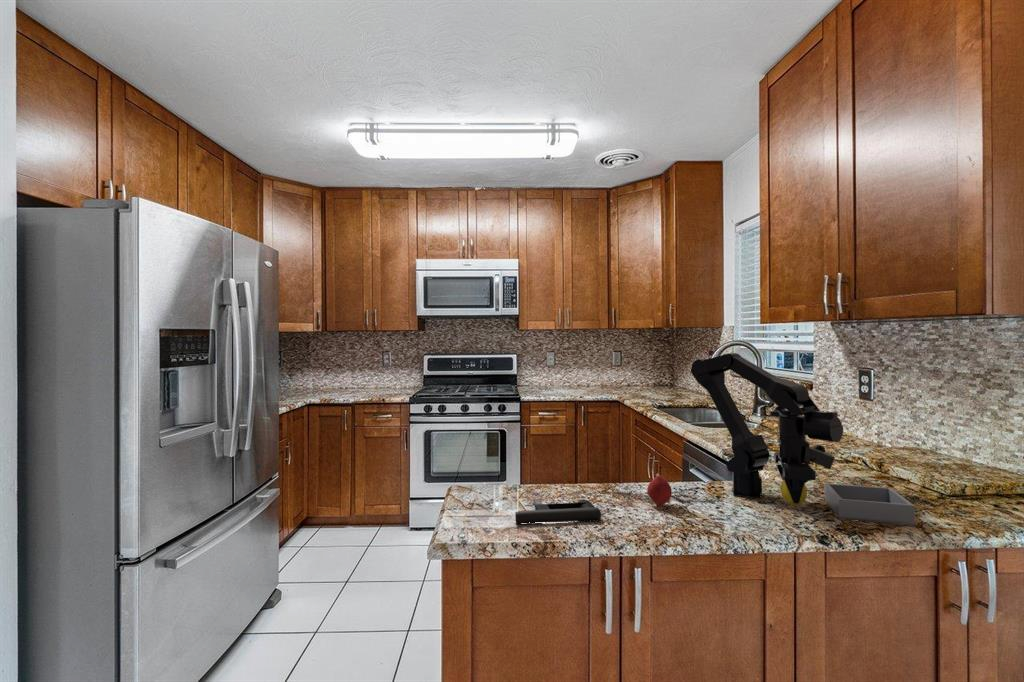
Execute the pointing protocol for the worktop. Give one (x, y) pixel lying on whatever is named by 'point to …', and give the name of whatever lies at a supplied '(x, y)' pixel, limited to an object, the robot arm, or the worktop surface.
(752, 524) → the worktop surface
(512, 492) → the worktop surface
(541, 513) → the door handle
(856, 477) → the worktop surface
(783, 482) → the lemon
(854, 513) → the box
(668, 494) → the onion
